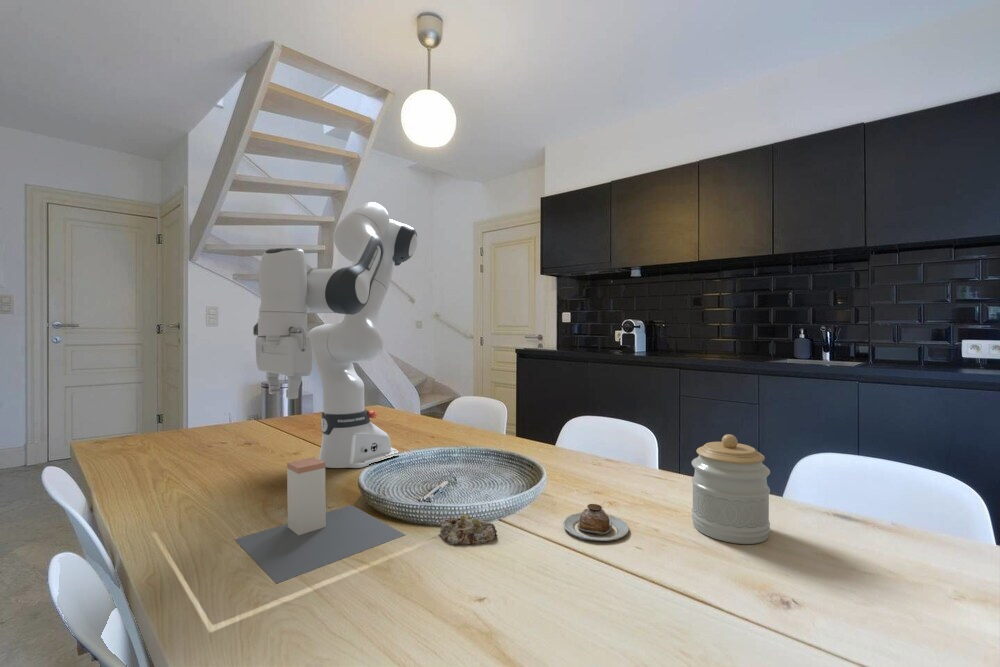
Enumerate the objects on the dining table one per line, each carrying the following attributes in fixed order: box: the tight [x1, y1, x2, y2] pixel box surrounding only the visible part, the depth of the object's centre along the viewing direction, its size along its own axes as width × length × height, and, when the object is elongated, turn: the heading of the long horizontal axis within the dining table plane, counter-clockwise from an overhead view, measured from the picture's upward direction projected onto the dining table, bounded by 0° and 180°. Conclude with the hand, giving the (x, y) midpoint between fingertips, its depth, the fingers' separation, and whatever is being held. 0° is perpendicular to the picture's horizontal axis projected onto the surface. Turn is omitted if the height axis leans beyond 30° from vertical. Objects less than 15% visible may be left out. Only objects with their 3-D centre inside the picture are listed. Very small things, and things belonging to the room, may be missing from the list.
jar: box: [691, 433, 771, 545], centre depth 85 cm, size 13×13×18 cm
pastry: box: [562, 503, 630, 542], centre depth 86 cm, size 12×12×5 cm
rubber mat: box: [234, 504, 406, 584], centre depth 81 cm, size 22×20×1 cm
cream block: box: [286, 456, 327, 535], centre depth 86 cm, size 5×5×12 cm
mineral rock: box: [440, 513, 499, 546], centre depth 83 cm, size 11×4×8 cm
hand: (283, 396), depth 93 cm, fingers open, 8 cm apart
